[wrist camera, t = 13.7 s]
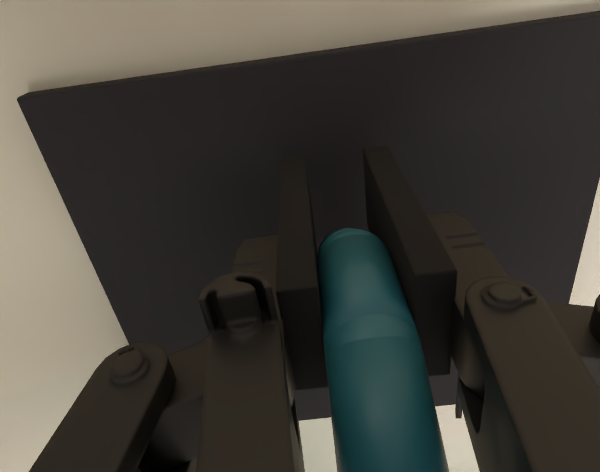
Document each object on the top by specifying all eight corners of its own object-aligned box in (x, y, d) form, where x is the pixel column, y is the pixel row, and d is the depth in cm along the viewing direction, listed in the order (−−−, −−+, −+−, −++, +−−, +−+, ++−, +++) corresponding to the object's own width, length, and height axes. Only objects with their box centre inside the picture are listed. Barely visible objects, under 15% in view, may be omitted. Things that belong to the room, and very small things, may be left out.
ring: (337, 404, 20) (386, 848, 10) (305, 163, 14) (351, 683, 4) (376, 400, 20) (465, 843, 10) (361, 156, 14) (562, 668, 4)
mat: (173, 421, 24) (170, 434, 24) (27, 92, 15) (14, 98, 14) (539, 383, 23) (546, 395, 23) (625, 6, 14) (642, 8, 13)
